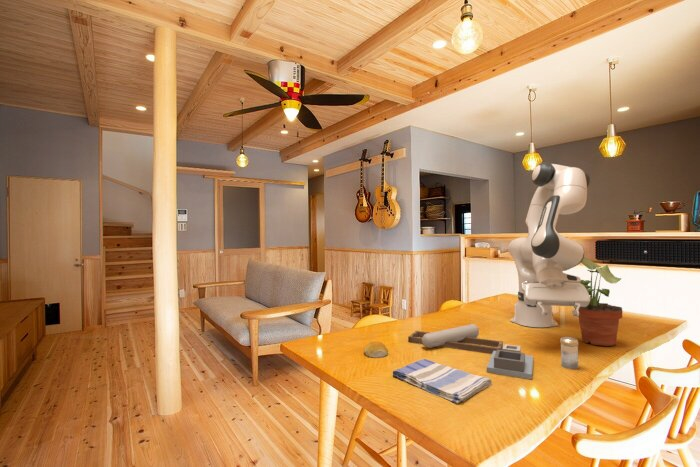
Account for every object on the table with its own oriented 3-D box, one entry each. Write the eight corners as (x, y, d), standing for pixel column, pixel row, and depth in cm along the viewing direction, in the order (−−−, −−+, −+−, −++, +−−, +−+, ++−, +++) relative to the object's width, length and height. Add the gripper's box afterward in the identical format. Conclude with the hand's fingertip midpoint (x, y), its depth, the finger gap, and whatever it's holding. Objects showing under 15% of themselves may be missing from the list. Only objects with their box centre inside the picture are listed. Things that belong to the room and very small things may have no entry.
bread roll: (384, 348, 127) (384, 338, 127) (390, 357, 118) (389, 346, 118) (362, 350, 126) (362, 339, 126) (366, 359, 117) (366, 347, 117)
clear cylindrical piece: (560, 362, 109) (559, 335, 109) (578, 364, 106) (577, 337, 106) (561, 367, 104) (560, 340, 104) (579, 370, 102) (579, 342, 102)
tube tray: (415, 335, 141) (415, 330, 141) (502, 346, 124) (502, 341, 124) (408, 342, 133) (408, 336, 133) (500, 354, 117) (500, 349, 117)
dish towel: (459, 408, 84) (459, 396, 84) (390, 378, 102) (389, 368, 102) (495, 386, 95) (494, 376, 95) (426, 363, 113) (426, 354, 113)
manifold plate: (493, 354, 117) (493, 341, 117) (533, 360, 111) (532, 346, 111) (486, 372, 103) (486, 357, 103) (531, 379, 97) (531, 363, 97)
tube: (429, 339, 121) (480, 328, 132) (420, 331, 125) (470, 321, 136) (426, 352, 122) (477, 340, 133) (417, 343, 127) (467, 332, 138)
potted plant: (570, 344, 125) (568, 249, 125) (578, 334, 136) (576, 247, 136) (625, 353, 114) (622, 249, 114) (629, 342, 125) (626, 247, 125)
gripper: (521, 276, 125) (528, 308, 116) (585, 277, 120) (597, 311, 111) (519, 286, 130) (525, 318, 120) (580, 287, 124) (592, 321, 115)
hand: (560, 315), depth 115 cm, fingers open, 8 cm apart
